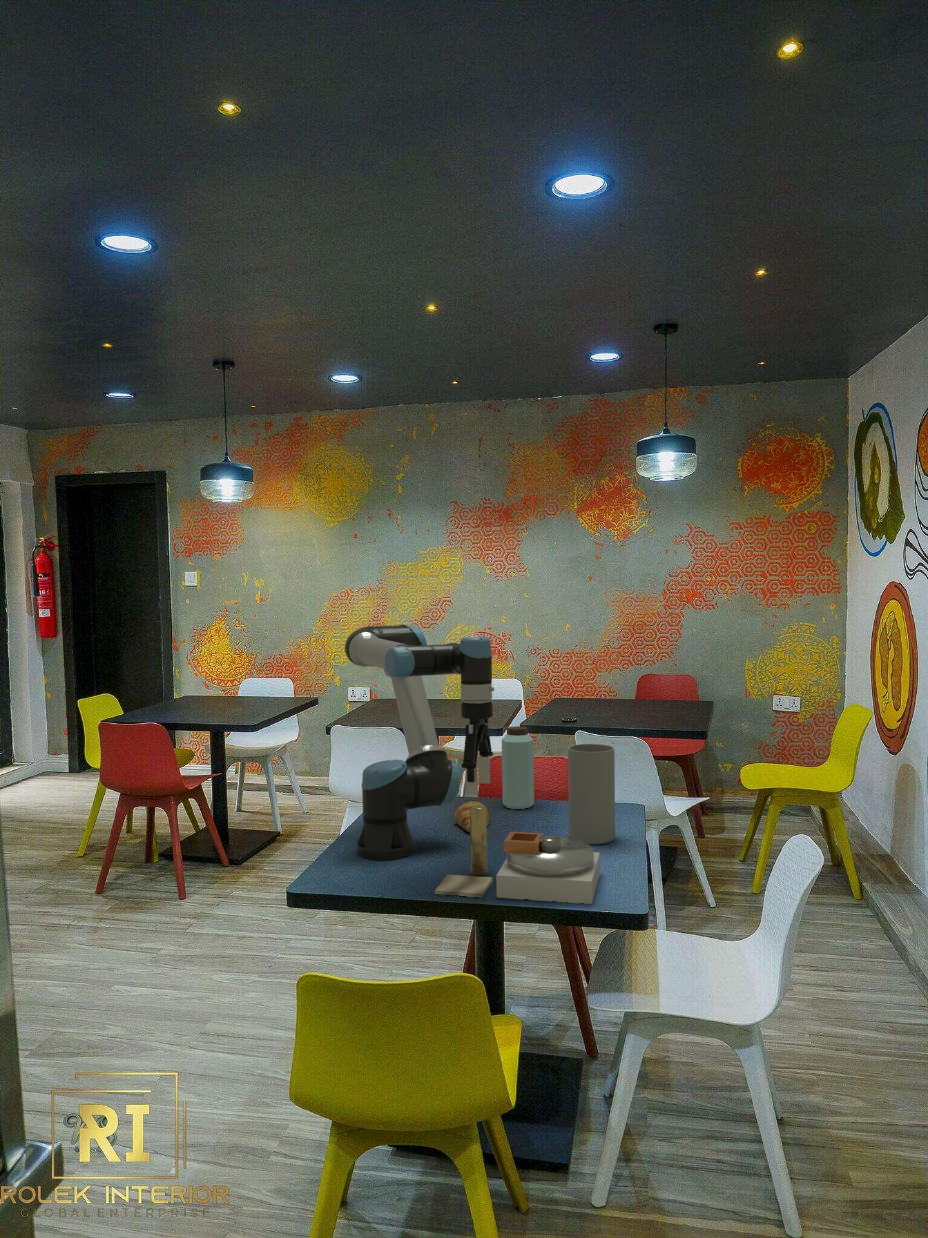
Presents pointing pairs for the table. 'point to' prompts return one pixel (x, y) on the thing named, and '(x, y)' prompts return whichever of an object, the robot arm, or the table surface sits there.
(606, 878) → the table surface
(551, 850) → the silver metal disc
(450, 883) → the birch pad
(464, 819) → the croissant
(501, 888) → the beige square block
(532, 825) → the table surface
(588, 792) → the cylinder vase
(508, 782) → the water bottle
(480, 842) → the brass capsule
